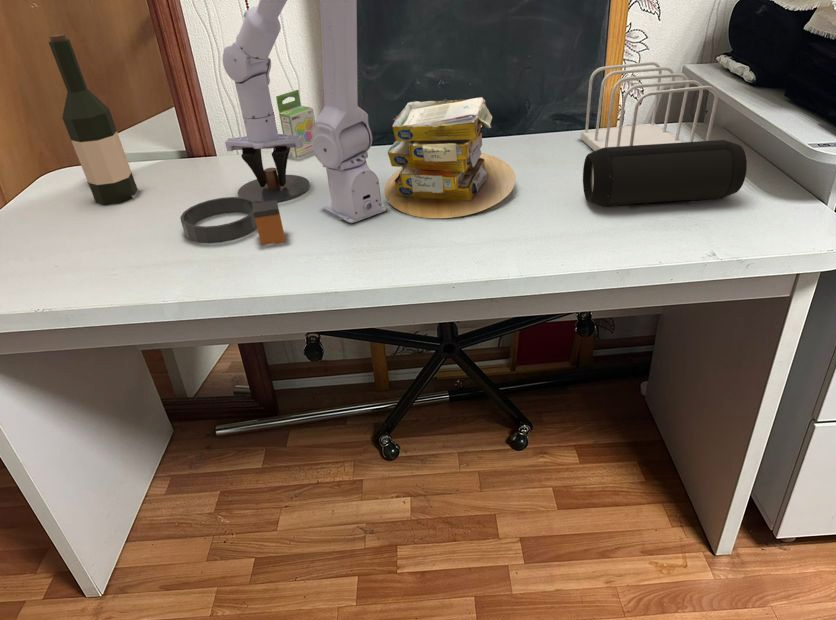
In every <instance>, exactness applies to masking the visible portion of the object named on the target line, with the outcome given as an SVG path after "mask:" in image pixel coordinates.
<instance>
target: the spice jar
mask: <svg viewBox="0 0 836 620" xmlns="http://www.w3.org/2000/svg"><path fill="white" fill-rule="evenodd" d="M253 213H254V217H255V221H256V225H257V229H256V230H257V234H258V238H259V241H260V245H261V246H264V245H272V246H273V245H277V244H284V243H286V238H285V237H286V236H285V232H284V231H285V230H284V226H283V222H282V218H281V213H280V207H279V202H277V200H272V201H265V202H259V203H253Z"/></svg>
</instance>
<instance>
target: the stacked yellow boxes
mask: <svg viewBox="0 0 836 620" xmlns="http://www.w3.org/2000/svg"><path fill="white" fill-rule="evenodd" d="M492 120H493V116H492V113H491V112H490V111H489V108H488V107H487V101H486V100H485V99H484V97H482V96H481V97H475V98H469V99H463V100H461V99H458V100H457V99H454V100H452V99H451V100H448V99H446V98H444V99H443V100H439V101H438V100H427V101H416V100H415V101H410V102H407V104H406V105H405V107H404V108H402V110H401V111H400V113H399V114H398V115H397V116H395V118H393V119H392V121H394V122H393V124H392V125H391V128H392V132H393V135H394V139H395V141H393V144H391V146H390V147H389V149H388V150H387V155H388V158H389V162H390V165H391V167H395V168H397V167H398V168H399V169H398V170H397V171H395V172H394V173H393V174H392V175H391V176H390V178H389V179H388V181H387V182H386V184H385V187H384V196H385V198H386V200H387V202H388V203H389V205H391V206H392V207H393V208H394V209H396V210H397V211H400V212H401V213H404V214H407V215H409V216H413V217H419V218H426V219H451V218H460V217H464V216H465V217H466V216H468V215H472V214H475V213H479V212H483V211H484V210H487V209H490V208H492V207H493V206H495V205H497V204H499V203H500V202H502V201H503V200H504V199H505V198H507V197H508V196H509V195H510V193H511V192H512V191H513V189H514V188H515V185H516V174H515V173H516V172H515V171H514V169H513V168H512V166H511V165H510V164H509V163H507V162H506V161H505V160H503V159H501V158H500V157H496V156H494V155H491V154H488V153H483V152H482V151H481V148H482V147H483V137H482V136H483V133H482V131H481V128H482V126H483V127H485V128H487V129H491V128H492V126H491V123H492Z"/></svg>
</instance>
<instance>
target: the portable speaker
mask: <svg viewBox="0 0 836 620" xmlns="http://www.w3.org/2000/svg"><path fill="white" fill-rule="evenodd" d="M747 166H748V161H747V155H746V151H745V149H744V147H742V145H740V144H738V143H735V142H732V141H729V140H726V139H715V140H709V141H706V140H701V141H700V140H699V141H698V140H697V141H693V142H690V141H683V142H682V143H666V144H651V145H635V146H620V147H605V148H601V149H599V150H596V151H594V150H593V151H592V152H590V153H588V154H587V155H586V156H585V159H584V162H583V167H582V168H583V169H582V188H583V194H584V198H585V201H586V202H587V203H590V204H593V205H596V206H600V207H602V208H614V207H615V208H616V207H630V206H631V207H633V206H646V205H647V206H649V205H663V204H679V203H694V202H707V201H716V200H723V199H725V198H726V197H729V196H731V195H734V194H736V193H738V192H739V191H740V190H741V188H742V187H743V185H744V183H745V179H746V176H747V168H748V167H747Z"/></svg>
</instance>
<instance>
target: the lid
mask: <svg viewBox="0 0 836 620" xmlns="http://www.w3.org/2000/svg"><path fill="white" fill-rule="evenodd" d="M264 173H265V178H266V185H265V186H264V187H260V184H259V182H258V180H257V178H255V179H253V180H250V181H247V182H246V183H244V184H243V185H241V186H240V187H239V188H238V191H237V197H243V198H247V199H251V200H253V201H255V202H256V203H259V202H265V201H272V200H277V203H281V202H285V201H286V202H287V201H290V200H293V199H295V198H299V197H300V196H303V195H304V194H305V193H307V192H308V191H309V190H310V187H311V184H310V183H311V182H310V180H309V179H308V178H306V177H304V176H301V175H296V174H286V184H285V185H284V186H280V184H279V180H278V174H277V169H276V167H267V168H264Z"/></svg>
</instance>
